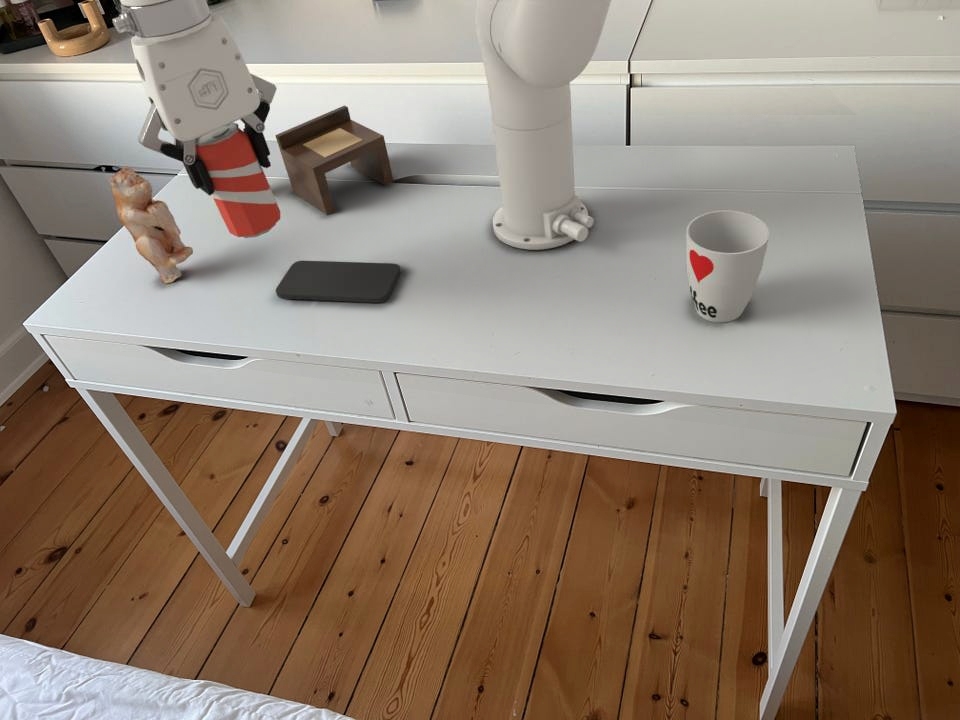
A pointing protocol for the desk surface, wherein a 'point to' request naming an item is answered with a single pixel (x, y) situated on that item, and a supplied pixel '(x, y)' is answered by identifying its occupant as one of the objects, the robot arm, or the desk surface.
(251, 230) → the beverage can
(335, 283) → the phone
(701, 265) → the cup
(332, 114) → the miniature wooden desk
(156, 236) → the figurine
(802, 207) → the desk surface
